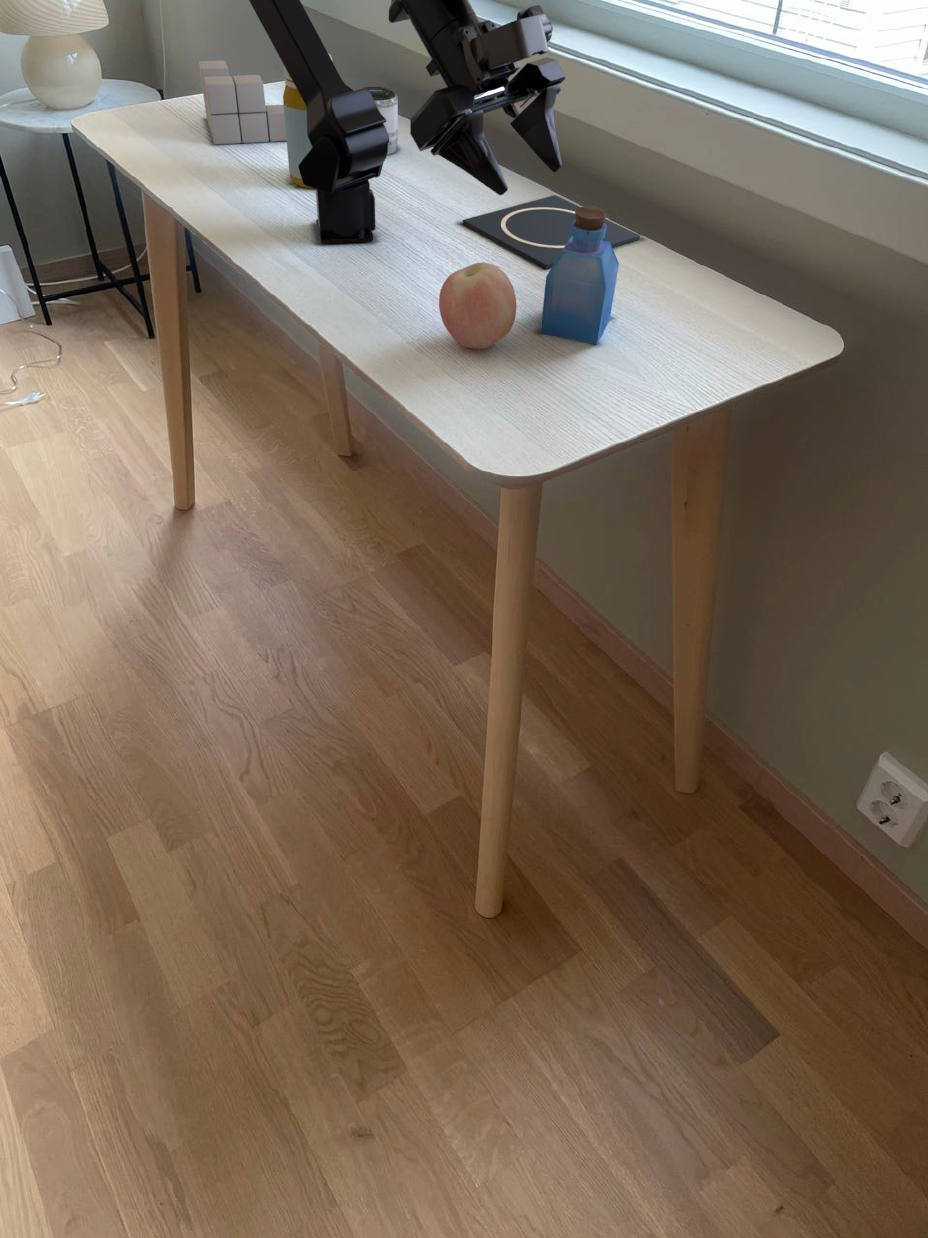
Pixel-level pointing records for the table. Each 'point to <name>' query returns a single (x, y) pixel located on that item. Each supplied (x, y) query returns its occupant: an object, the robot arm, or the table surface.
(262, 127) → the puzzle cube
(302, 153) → the bottle
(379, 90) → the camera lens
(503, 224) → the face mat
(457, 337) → the apple
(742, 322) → the table surface
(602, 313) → the perfume bottle
